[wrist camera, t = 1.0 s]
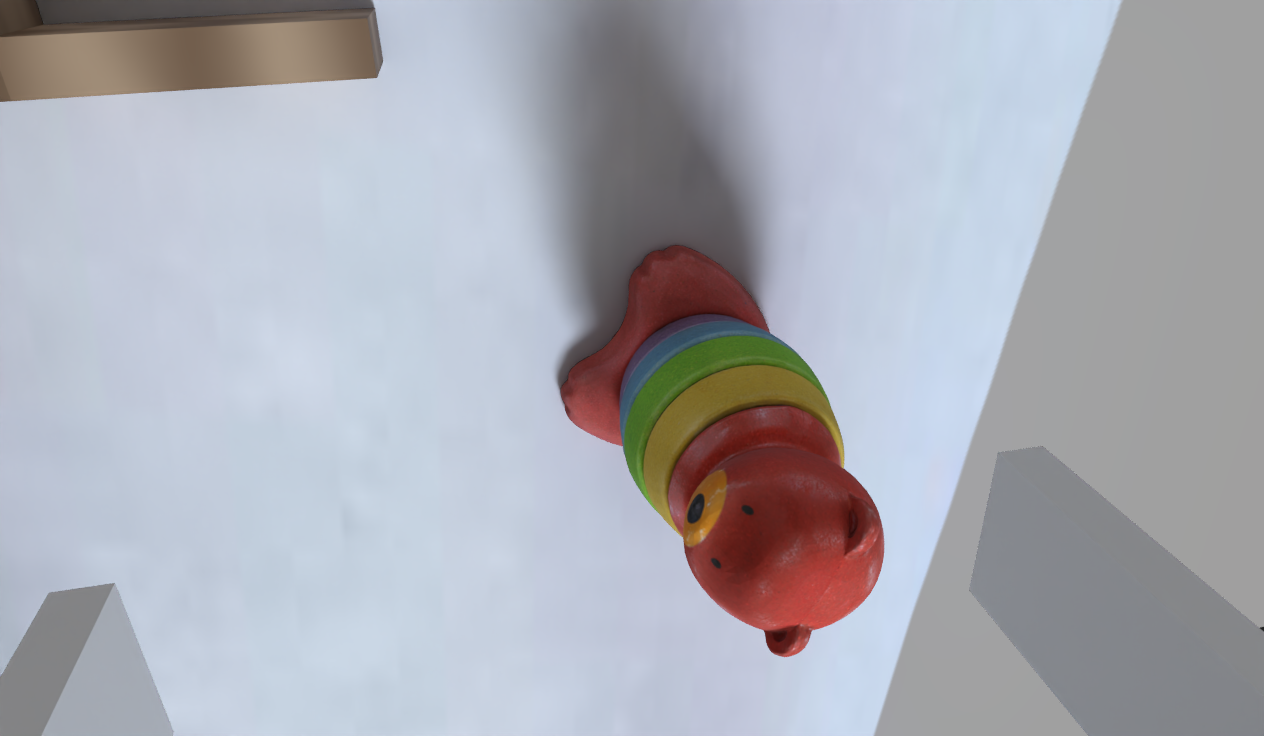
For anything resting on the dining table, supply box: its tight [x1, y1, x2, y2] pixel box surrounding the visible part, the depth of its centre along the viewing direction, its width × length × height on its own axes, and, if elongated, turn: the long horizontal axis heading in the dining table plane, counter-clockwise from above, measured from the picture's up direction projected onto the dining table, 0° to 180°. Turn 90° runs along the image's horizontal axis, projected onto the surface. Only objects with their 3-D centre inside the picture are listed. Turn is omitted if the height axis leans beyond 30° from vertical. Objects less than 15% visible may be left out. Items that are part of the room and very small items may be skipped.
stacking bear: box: [561, 245, 884, 657], centre depth 36 cm, size 11×10×18 cm
